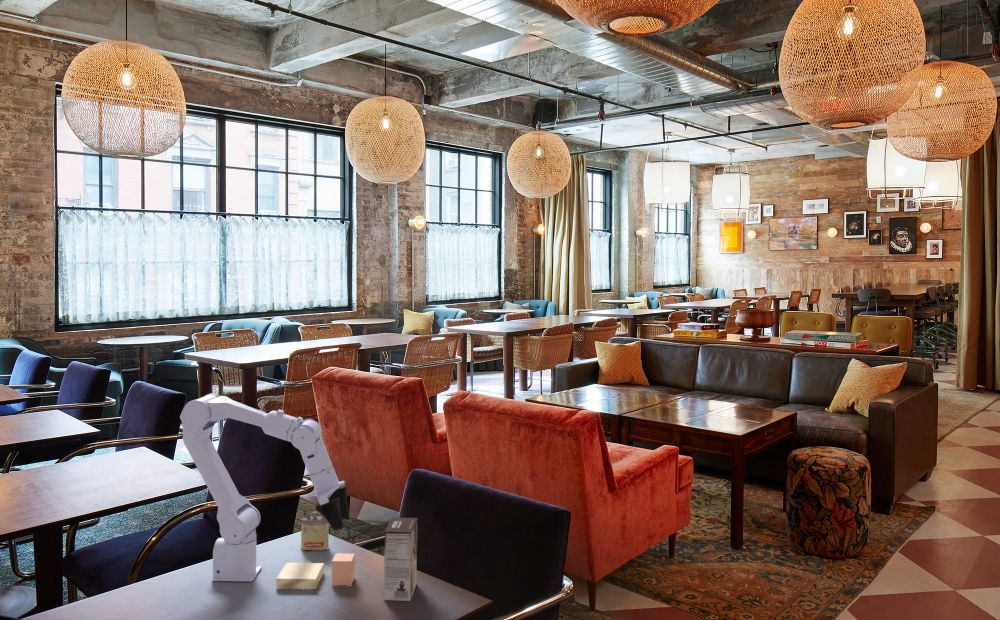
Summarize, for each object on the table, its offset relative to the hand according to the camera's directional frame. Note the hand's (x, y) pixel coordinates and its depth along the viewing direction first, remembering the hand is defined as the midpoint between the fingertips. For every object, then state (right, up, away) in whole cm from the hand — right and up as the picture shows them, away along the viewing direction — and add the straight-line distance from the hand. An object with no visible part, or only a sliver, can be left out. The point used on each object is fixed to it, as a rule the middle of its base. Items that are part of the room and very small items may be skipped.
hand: (341, 523), depth 174 cm
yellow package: (-11, -13, +20) cm, 26 cm away
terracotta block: (0, -14, 0) cm, 14 cm away
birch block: (-10, -14, 0) cm, 17 cm away
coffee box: (+14, -15, -4) cm, 21 cm away
